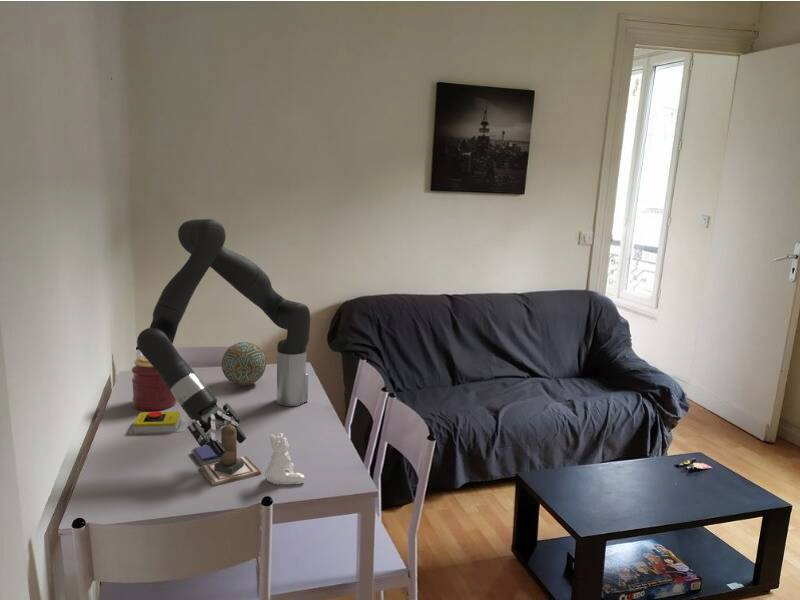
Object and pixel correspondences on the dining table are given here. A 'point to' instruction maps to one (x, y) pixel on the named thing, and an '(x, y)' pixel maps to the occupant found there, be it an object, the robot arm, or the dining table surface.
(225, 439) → the stamp
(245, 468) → the framed board
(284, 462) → the seated beast figurine
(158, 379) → the canister
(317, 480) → the dining table surface
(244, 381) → the decorative sphere
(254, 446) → the dining table surface
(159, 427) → the emergency button
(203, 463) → the ink pad
